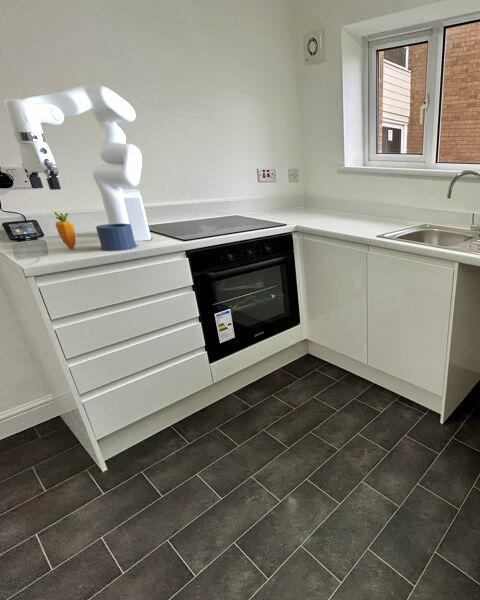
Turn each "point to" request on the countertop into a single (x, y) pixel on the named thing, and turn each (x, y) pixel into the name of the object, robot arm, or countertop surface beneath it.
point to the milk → (136, 215)
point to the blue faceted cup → (116, 236)
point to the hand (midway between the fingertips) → (46, 188)
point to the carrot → (66, 230)
